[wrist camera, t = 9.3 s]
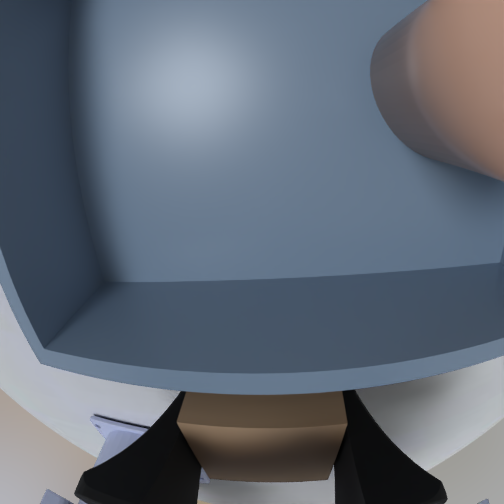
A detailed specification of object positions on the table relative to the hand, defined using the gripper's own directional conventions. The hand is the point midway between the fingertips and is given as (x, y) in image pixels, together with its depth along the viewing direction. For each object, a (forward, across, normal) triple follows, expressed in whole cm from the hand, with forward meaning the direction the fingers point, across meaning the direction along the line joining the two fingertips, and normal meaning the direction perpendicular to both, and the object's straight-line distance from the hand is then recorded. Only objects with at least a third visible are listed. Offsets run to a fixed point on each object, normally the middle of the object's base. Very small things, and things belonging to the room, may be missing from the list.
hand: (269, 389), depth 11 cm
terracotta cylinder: (+1, -6, -12) cm, 13 cm away
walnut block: (+1, 0, 0) cm, 1 cm away
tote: (+1, -2, -12) cm, 12 cm away
